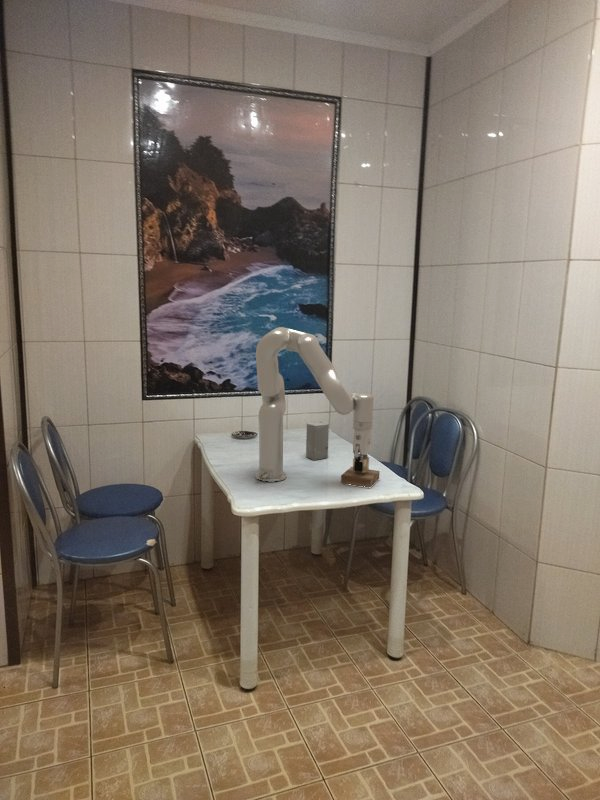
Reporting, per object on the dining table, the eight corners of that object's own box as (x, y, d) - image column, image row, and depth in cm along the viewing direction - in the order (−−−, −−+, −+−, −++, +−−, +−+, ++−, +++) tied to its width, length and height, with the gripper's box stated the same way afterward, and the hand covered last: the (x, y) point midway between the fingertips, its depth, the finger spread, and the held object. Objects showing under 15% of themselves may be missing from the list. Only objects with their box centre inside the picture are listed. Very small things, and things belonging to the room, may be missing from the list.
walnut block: (370, 489, 228) (370, 479, 228) (340, 484, 233) (341, 475, 232) (379, 480, 239) (379, 471, 238) (351, 476, 244) (351, 466, 243)
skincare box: (313, 460, 262) (314, 426, 259) (304, 456, 268) (305, 422, 264) (329, 458, 266) (330, 424, 263) (319, 454, 272) (320, 420, 269)
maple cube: (364, 472, 232) (365, 460, 231) (352, 470, 234) (353, 458, 233) (368, 469, 236) (369, 457, 235) (356, 467, 238) (357, 455, 237)
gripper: (365, 430, 222) (362, 476, 226) (378, 421, 238) (376, 464, 241) (346, 428, 225) (344, 473, 229) (360, 419, 241) (358, 462, 244)
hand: (360, 468), depth 235 cm, fingers closed on maple cube, 5 cm apart
